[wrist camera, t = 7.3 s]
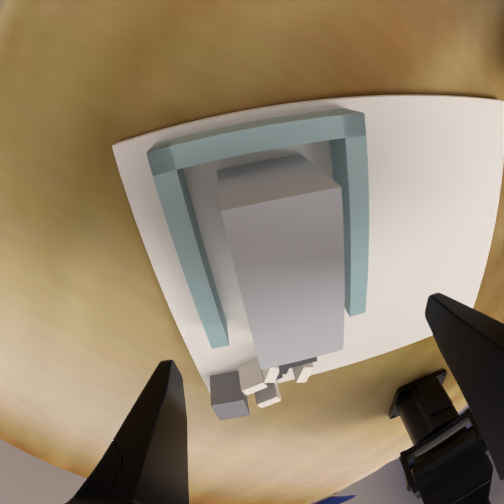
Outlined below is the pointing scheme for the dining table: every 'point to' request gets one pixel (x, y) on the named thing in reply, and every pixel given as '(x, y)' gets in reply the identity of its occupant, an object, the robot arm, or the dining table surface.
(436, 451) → the robot arm
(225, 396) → the grey blocky piece
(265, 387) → the clips
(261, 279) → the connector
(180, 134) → the board
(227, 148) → the holder
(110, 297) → the dining table surface
